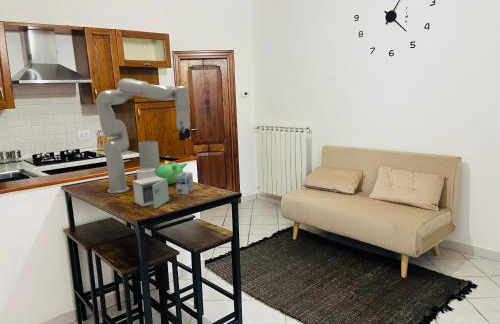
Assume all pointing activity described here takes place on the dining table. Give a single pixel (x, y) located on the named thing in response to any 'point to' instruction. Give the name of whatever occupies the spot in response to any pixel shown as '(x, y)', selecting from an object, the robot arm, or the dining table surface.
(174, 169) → the toy bird
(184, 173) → the light bulb box
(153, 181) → the housing
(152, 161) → the cylinder vase
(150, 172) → the jar
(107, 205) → the dining table surface
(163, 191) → the door
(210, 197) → the dining table surface
